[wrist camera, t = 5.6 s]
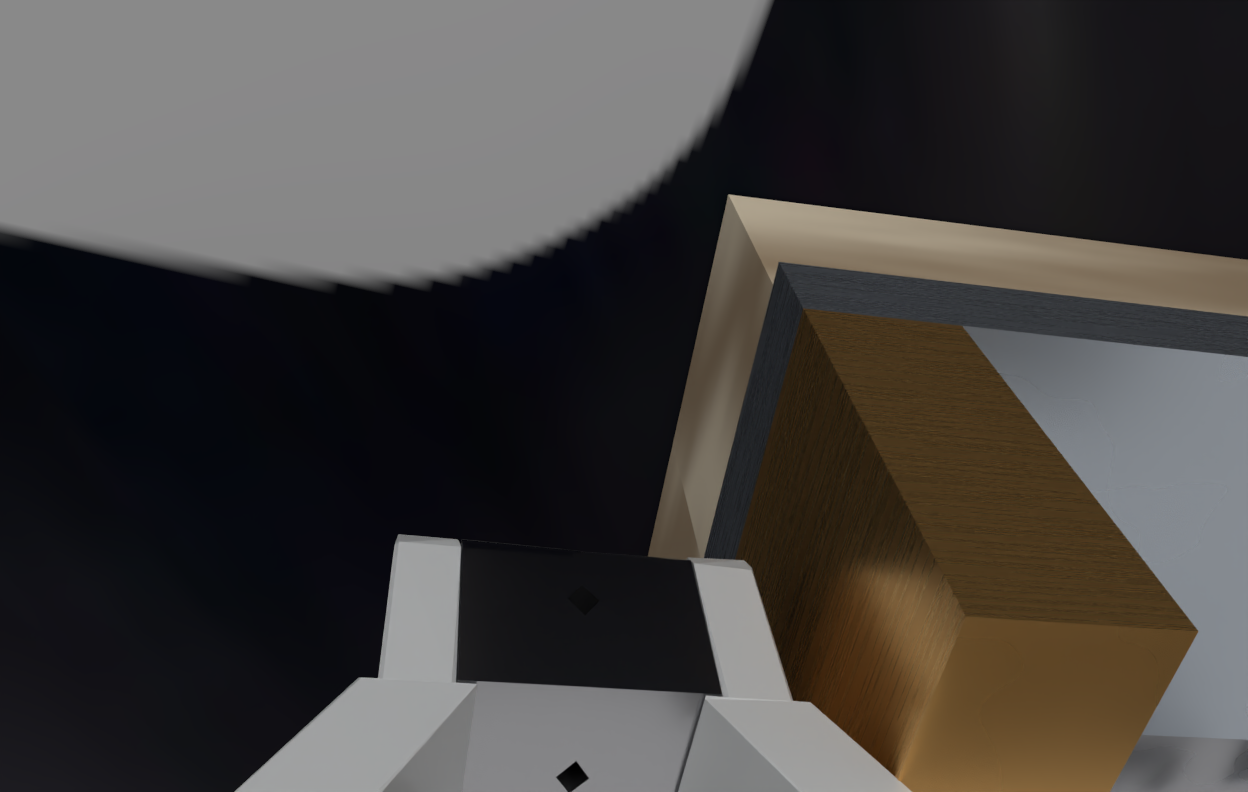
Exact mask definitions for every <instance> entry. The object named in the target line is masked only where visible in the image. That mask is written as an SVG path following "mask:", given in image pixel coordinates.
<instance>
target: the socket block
mask: <svg viewBox="0 0 1248 792" xmlns="http://www.w3.org/2000/svg"><path fill="white" fill-rule="evenodd" d="M779 262H785V263H793V264H802V265H811V266H819V267H828V268H836V269H845V270H854V271H862V272H871V273H879V274H888V275H896V276H905V277H914V278H922V279H931V280H939V281H948V282H956V283H965V284H974V285H982V286H991V287H999V288H1008V289H1017V290H1025V291H1034V292H1042V293H1051V294H1059V295H1068V296H1077V297H1085V298H1094V299H1102V300H1111V301H1120V302H1128V303H1137V304H1145V305H1154V306H1162V307H1171V308H1180V309H1188V310H1197V311H1205V312H1214V313H1223V314H1231V315H1240V316H1248V260H1244V259H1236V258H1228V257H1220V256H1212V255H1204V254H1196V253H1189V252H1181V251H1173V250H1165V249H1157V248H1149V247H1141V246H1133V245H1125V244H1117V243H1109V242H1101V241H1093V240H1085V239H1077V238H1069V237H1062V236H1054V235H1046V234H1038V233H1030V232H1022V231H1014V230H1006V229H998V228H990V227H982V226H974V225H966V224H958V223H950V222H942V221H935V220H927V219H919V218H911V217H903V216H895V215H887V214H879V213H871V212H863V211H855V210H847V209H839V208H831V207H823V206H816V205H808V204H800V203H792V202H784V201H776V200H768V199H760V198H752V197H744V196H736V195H728V198H727V203H726V207H725V212H724V216H723V221H722V225H721V230H720V234H719V239H718V243H717V248H716V252H715V257H714V261H713V266H712V270H711V275H710V279H709V284H708V288H707V293H706V297H705V302H704V306H703V311H702V315H701V320H700V324H699V329H698V333H697V338H696V342H695V347H694V351H693V356H692V360H691V365H690V369H689V374H688V378H687V383H686V387H685V392H684V396H683V401H682V405H681V410H680V414H679V419H678V423H677V428H676V432H675V437H674V441H673V445H672V450H671V454H670V459H669V463H668V468H667V472H666V477H665V481H664V486H663V490H662V495H661V499H660V504H659V508H658V513H657V517H656V522H655V526H654V531H653V535H652V540H651V544H650V549H649V553H648V556H649V557H663V558H677V559H687V557H690V558H704V554H705V551H706V547H707V543H708V539H709V535H710V531H711V527H712V523H713V519H714V515H715V511H716V507H717V503H718V499H719V495H720V491H721V488H722V484H723V480H724V476H725V472H726V468H727V464H728V460H729V456H730V452H731V448H732V444H733V440H734V436H735V432H736V428H737V424H738V421H739V417H740V413H741V409H742V405H743V401H744V397H745V393H746V389H747V385H748V381H749V377H750V373H751V369H752V365H753V361H754V358H755V354H756V350H757V346H758V342H759V338H760V334H761V330H762V326H763V322H764V318H765V314H766V310H767V306H768V302H769V298H770V294H771V291H772V287H773V283H774V279H775V275H776V271H777V267H778V263H779Z"/></svg>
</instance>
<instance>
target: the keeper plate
mask: <svg viewBox="0 0 1248 792" xmlns="http://www.w3.org/2000/svg"><path fill="white" fill-rule="evenodd" d="M704 558H710V559H730V560H744V561H745V562H747V563H748V564H749V565H750V566H751V567H752V570H753V573H754V576H755V580H756V583H757V586H758V589H759V592H760V596H761V599H762V602H763V605H764V609H765V612H766V615H767V618H768V621H769V625H770V628H771V631H772V634H773V638H774V641H775V644H776V647H777V650H778V654H779V657H780V660H781V663H782V667H783V670H784V673H785V676H786V679H787V683H788V686H789V689H790V692H791V696H792V699H793V701H800V702H811V703H812V704H813V705H814V706H815V707H817V708H818V709H819V710H820V711H821V712H822V713H823V714H825V715H826V716H827V717H828V718H829V719H830V720H831V721H832V722H834V723H835V724H836V725H837V726H838V727H839V728H840V729H842V730H843V731H844V732H845V733H846V734H847V735H848V736H849V737H851V738H852V739H853V740H854V741H855V742H856V743H857V744H859V745H860V746H861V747H862V748H863V749H864V750H865V751H866V752H868V753H869V754H870V755H871V756H872V757H873V758H874V759H876V760H877V761H878V762H879V763H880V764H881V765H882V766H884V767H885V768H886V769H887V770H888V771H889V772H890V773H891V774H893V775H894V776H895V777H896V778H897V780H898V781H900V782H902V783H903V784H904V785H905V786H906V787H907V788H908V789H910V790H911V791H912V792H1110V791H1111V789H1112V787H1113V785H1114V783H1115V782H1116V780H1117V778H1118V776H1119V774H1120V773H1121V771H1122V769H1123V767H1124V765H1125V764H1126V762H1127V760H1128V758H1129V756H1130V755H1131V753H1132V751H1133V749H1134V747H1135V745H1136V744H1137V742H1138V740H1139V738H1140V736H1141V735H1155V736H1177V737H1199V738H1221V739H1243V740H1248V316H1240V315H1231V314H1223V313H1214V312H1205V311H1197V310H1188V309H1180V308H1171V307H1162V306H1154V305H1145V304H1137V303H1128V302H1120V301H1111V300H1102V299H1094V298H1085V297H1077V296H1068V295H1059V294H1051V293H1042V292H1034V291H1025V290H1017V289H1008V288H999V287H991V286H982V285H974V284H965V283H956V282H948V281H939V280H931V279H922V278H914V277H905V276H896V275H888V274H879V273H871V272H862V271H854V270H845V269H836V268H828V267H819V266H811V265H802V264H793V263H785V262H779V263H778V267H777V271H776V275H775V279H774V283H773V287H772V291H771V294H770V298H769V302H768V306H767V310H766V314H765V318H764V322H763V326H762V330H761V334H760V338H759V342H758V346H757V350H756V354H755V358H754V361H753V365H752V369H751V373H750V377H749V381H748V385H747V389H746V393H745V397H744V401H743V405H742V409H741V413H740V417H739V421H738V424H737V428H736V432H735V436H734V440H733V444H732V448H731V452H730V456H729V460H728V464H727V468H726V472H725V476H724V480H723V484H722V488H721V491H720V495H719V499H718V503H717V507H716V511H715V515H714V519H713V523H712V527H711V531H710V535H709V539H708V543H707V547H706V551H705V554H704Z"/></svg>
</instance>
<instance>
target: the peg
mask: <svg viewBox="0 0 1248 792" xmlns="http://www.w3.org/2000/svg"><path fill="white" fill-rule="evenodd" d="M1110 792H1248V740H1243V739H1221V738H1199V737H1177V736H1155V735H1141V736H1140V738H1139V740H1138V742H1137V744H1136V745H1135V747H1134V749H1133V751H1132V753H1131V755H1130V756H1129V758H1128V760H1127V762H1126V764H1125V765H1124V767H1123V769H1122V771H1121V773H1120V774H1119V776H1118V778H1117V780H1116V782H1115V783H1114V785H1113V787H1112V789H1111V791H1110Z"/></svg>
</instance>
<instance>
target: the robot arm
mask: <svg viewBox="0 0 1248 792" xmlns="http://www.w3.org/2000/svg"><path fill="white" fill-rule="evenodd" d="M235 792H912V791H911V790H910V789H908V788H907V787H906V786H905V785H904V784H903V783H902V782H900V781H898V780H897V778H896V777H895V776H894V775H893V774H891V773H890V772H889V771H888V770H887V769H886V768H885V767H884V766H882V765H881V764H880V763H879V762H878V761H877V760H876V759H874V758H873V757H872V756H871V755H870V754H869V753H868V752H866V751H865V750H864V749H863V748H862V747H861V746H860V745H859V744H857V743H856V742H855V741H854V740H853V739H852V738H851V737H849V736H848V735H847V734H846V733H845V732H844V731H843V730H842V729H840V728H839V727H838V726H837V725H836V724H835V723H834V722H832V721H831V720H830V719H829V718H828V717H827V716H826V715H825V714H823V713H822V712H821V711H820V710H819V709H818V708H817V707H815V706H814V705H813V704H812V703H811V702H800V701H793V699H792V696H791V692H790V689H789V686H788V683H787V679H786V676H785V673H784V670H783V667H782V663H781V660H780V657H779V654H778V650H777V647H776V644H775V641H774V638H773V634H772V631H771V628H770V625H769V621H768V618H767V615H766V612H765V609H764V605H763V602H762V599H761V596H760V592H759V589H758V586H757V583H756V580H755V576H754V573H753V570H752V567H751V566H750V565H749V564H748V563H747V562H745V561H744V560H730V559H710V558H690V557H687V559H677V558H663V557H649V556H634V555H620V554H606V553H592V552H581V551H575V550H565V549H555V548H545V547H534V546H524V545H514V544H504V543H494V542H483V541H473V540H463V539H462V542H461V545H460V543H459V541H458V539H446V538H435V537H423V536H412V535H400V534H398V537H397V540H396V543H395V546H394V554H393V562H392V570H391V578H390V586H389V594H388V602H387V611H386V619H385V627H384V635H383V643H382V651H381V659H380V667H379V675H378V678H358V679H357V680H356V681H354V682H353V683H352V684H351V685H350V686H349V687H348V688H347V689H346V690H345V691H344V692H343V693H341V694H340V695H339V696H338V697H337V698H336V699H335V700H334V701H333V702H332V703H331V704H329V705H328V706H327V707H326V708H325V709H324V710H323V711H322V712H321V713H320V714H319V715H317V716H316V717H315V718H314V719H313V720H312V721H311V722H310V723H309V724H308V725H307V726H305V727H304V728H303V729H302V730H301V731H300V732H299V733H298V734H297V735H296V736H295V737H294V738H292V739H291V740H290V741H289V742H288V743H287V744H286V745H285V746H284V747H283V748H282V749H280V750H279V751H278V752H277V753H276V754H275V755H274V756H273V757H272V758H271V759H270V760H268V761H267V762H266V763H265V764H264V765H263V766H262V767H261V768H260V769H259V770H258V771H256V772H255V773H254V774H253V775H252V776H251V777H250V778H249V779H248V780H247V781H246V782H244V783H243V784H242V785H241V786H240V787H239V788H238V789H237V790H236V791H235Z"/></svg>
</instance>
